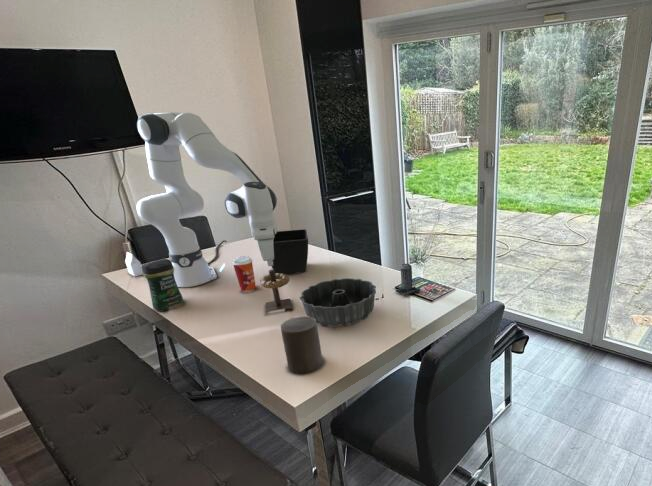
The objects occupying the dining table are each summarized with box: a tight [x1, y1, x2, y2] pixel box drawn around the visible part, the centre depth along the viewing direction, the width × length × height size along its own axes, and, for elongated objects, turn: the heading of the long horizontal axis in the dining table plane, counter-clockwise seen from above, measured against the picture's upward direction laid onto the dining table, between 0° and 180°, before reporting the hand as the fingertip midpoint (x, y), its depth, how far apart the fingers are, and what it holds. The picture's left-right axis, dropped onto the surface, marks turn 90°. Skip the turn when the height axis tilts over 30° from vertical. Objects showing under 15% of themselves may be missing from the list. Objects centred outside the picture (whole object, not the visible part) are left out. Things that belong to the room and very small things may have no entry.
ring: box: [259, 273, 290, 289], centre depth 152 cm, size 10×10×2 cm
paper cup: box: [231, 255, 256, 292], centre depth 168 cm, size 8×8×14 cm
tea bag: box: [124, 251, 143, 277], centre depth 188 cm, size 4×7×10 cm, turn 54°
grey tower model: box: [395, 263, 421, 297], centre depth 164 cm, size 9×8×12 cm
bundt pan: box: [299, 277, 377, 328], centre depth 146 cm, size 26×26×10 cm
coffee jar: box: [141, 257, 184, 312], centre depth 154 cm, size 10×8×19 cm
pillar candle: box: [280, 315, 324, 375], centre depth 117 cm, size 10×10×15 cm
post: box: [265, 269, 293, 313], centre depth 152 cm, size 9×9×15 cm
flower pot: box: [270, 228, 309, 275], centre depth 189 cm, size 19×19×17 cm
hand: (270, 264), depth 152 cm, fingers closed
